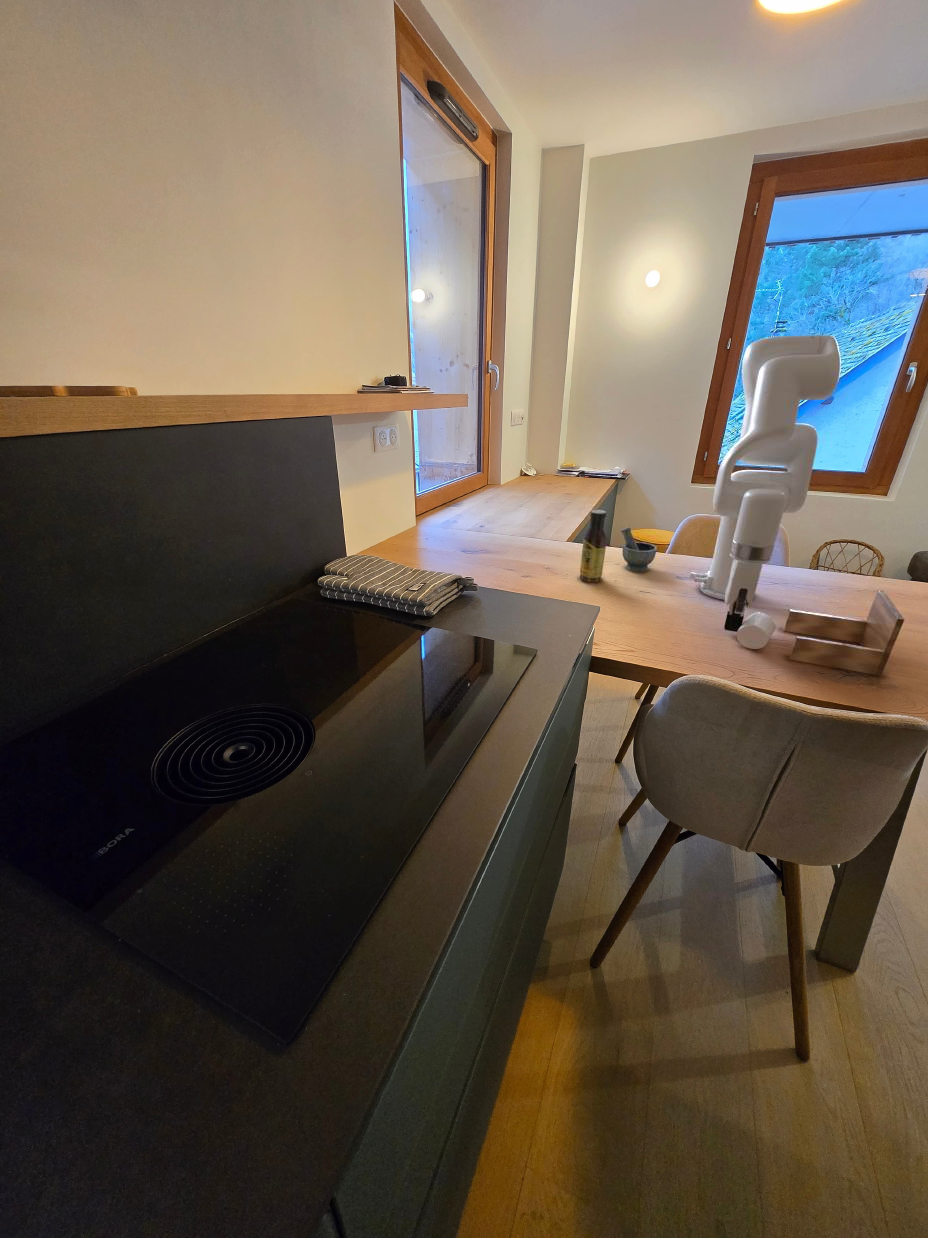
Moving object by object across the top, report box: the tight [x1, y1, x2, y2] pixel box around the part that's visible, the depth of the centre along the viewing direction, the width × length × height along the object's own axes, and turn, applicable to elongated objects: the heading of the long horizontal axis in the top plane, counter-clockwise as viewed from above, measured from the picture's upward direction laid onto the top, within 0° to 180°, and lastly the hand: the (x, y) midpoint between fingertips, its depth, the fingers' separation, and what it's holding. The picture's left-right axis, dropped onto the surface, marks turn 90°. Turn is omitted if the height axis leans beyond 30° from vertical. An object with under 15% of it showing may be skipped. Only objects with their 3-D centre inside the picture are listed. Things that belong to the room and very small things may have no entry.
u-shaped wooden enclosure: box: [783, 589, 905, 677], centre depth 100 cm, size 15×15×12 cm
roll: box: [736, 611, 777, 650], centre depth 107 cm, size 6×12×6 cm, turn 140°
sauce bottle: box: [579, 509, 608, 583], centre depth 137 cm, size 6×6×20 cm
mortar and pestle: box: [620, 526, 658, 573], centre depth 147 cm, size 11×9×12 cm
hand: (731, 629), depth 110 cm, fingers closed
